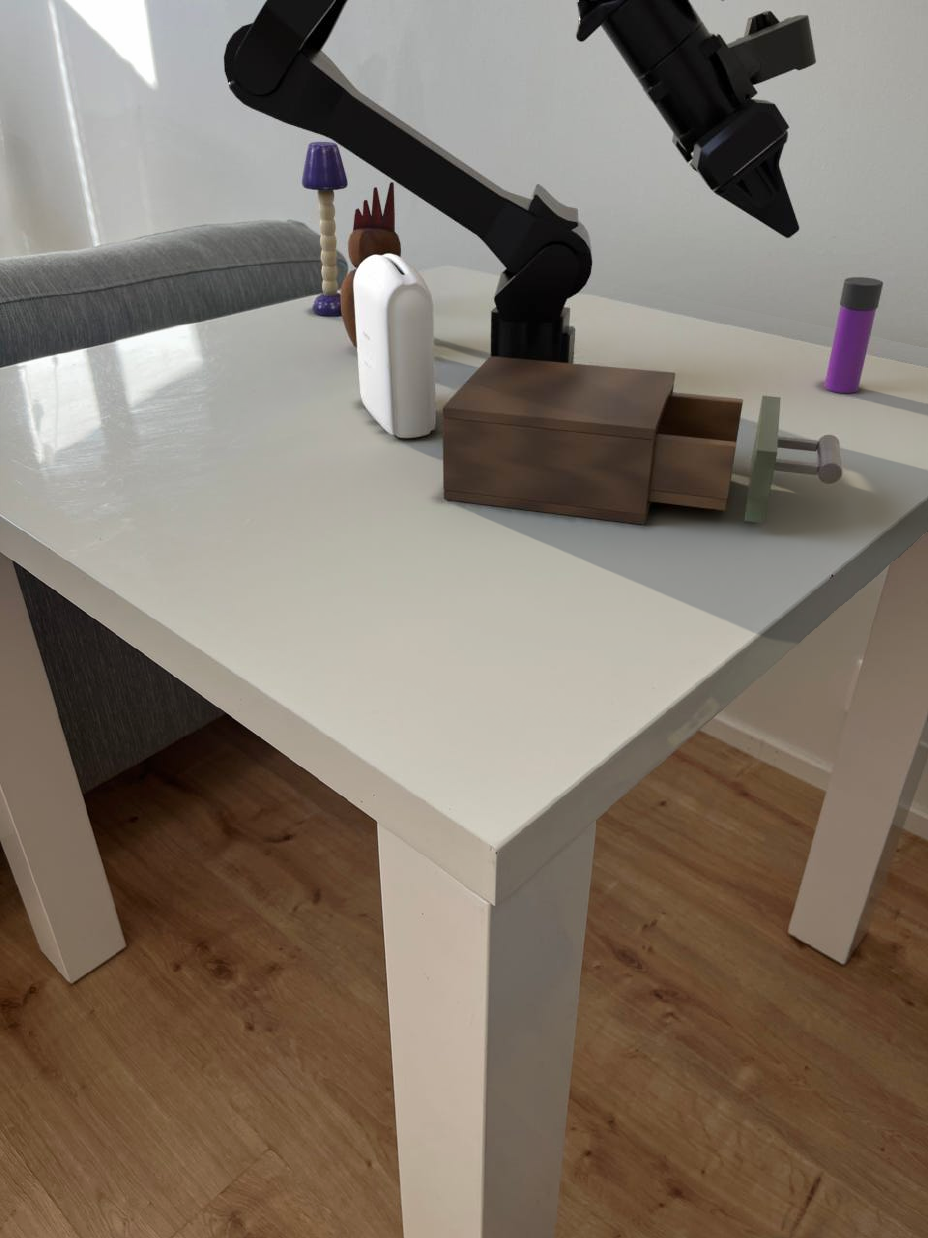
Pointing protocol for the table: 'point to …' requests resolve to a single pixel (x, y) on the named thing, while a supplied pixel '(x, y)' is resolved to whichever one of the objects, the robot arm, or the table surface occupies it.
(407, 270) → the photo printer
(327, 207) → the toy lamp
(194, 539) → the table surface
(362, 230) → the wooden figurine
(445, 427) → the cabinet
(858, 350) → the glue stick
